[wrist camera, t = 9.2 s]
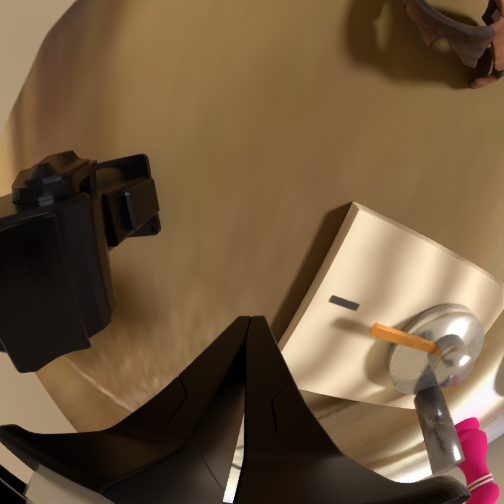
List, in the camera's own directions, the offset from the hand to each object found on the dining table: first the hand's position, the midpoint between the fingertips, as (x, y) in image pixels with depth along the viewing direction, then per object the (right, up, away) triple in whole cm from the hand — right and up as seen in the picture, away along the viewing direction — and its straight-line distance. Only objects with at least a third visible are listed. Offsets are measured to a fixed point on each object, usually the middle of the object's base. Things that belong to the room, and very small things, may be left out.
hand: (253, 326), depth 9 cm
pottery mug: (+16, +20, +4) cm, 26 cm away
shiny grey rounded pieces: (+16, -7, +14) cm, 22 cm away
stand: (+14, -5, +15) cm, 21 cm away
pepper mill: (+37, -28, +24) cm, 52 cm away
